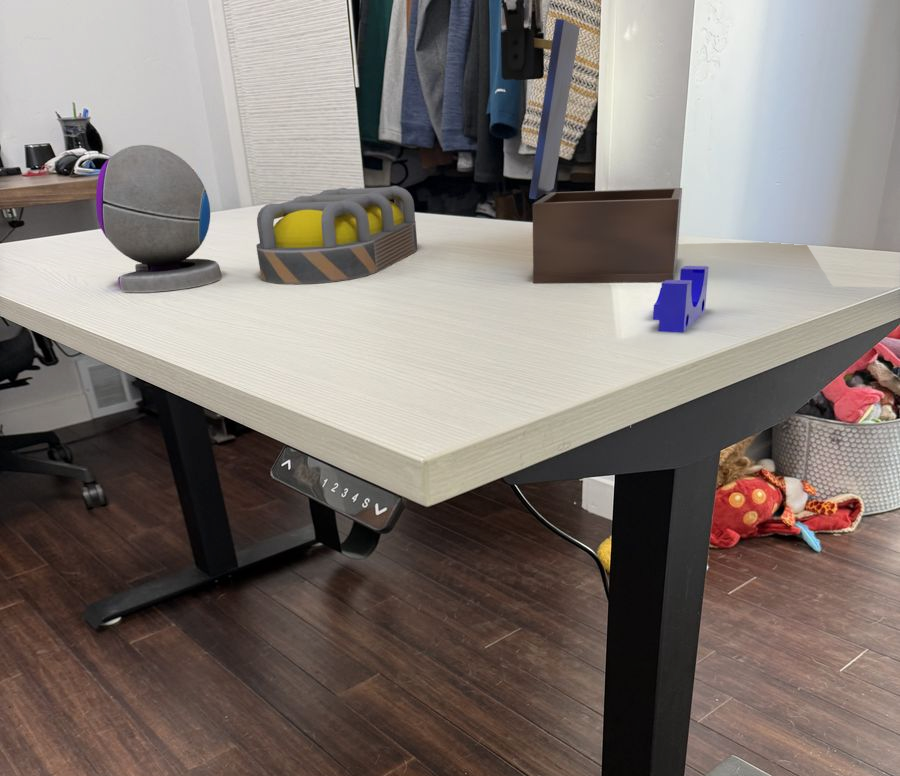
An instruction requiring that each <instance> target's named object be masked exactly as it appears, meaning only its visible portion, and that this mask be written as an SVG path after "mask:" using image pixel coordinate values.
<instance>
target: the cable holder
mask: <svg viewBox="0 0 900 776" xmlns="http://www.w3.org/2000/svg"><path fill="white" fill-rule="evenodd" d="M709 269H710V268H709V266H708V265H684V266H683V267H682V268H681V269H680V274H679V275H680V276H679V279H673V280H665V281H664V282H661V287H660V289H659V293H658V297H657V299H656V301H655V303H653V310H652V311H653V313H652V320H653V321H658V332H662V333H663V332H665V333H680V334H681V333H685V332H686V331H687V330H688V329H689V328H690V327H691V326H692V325H693V324H694V323H695V322H696V321H697V320H698V319H699V318H700V317H701V316H702V315H703V314H704V313H705V312H706V302H707V291H708V282H709V281H708V279H709Z"/></svg>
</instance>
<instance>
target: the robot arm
mask: <svg viewBox="0 0 900 776" xmlns="http://www.w3.org/2000/svg"><path fill="white" fill-rule="evenodd" d="M500 8H501V9H500V10H501V11H500V28H501V29H500V30H501V31H500V61H501V64H500V65H501V66H500V67H501V78H502V79H503V80H504V81H508V80H509V81H511V80H514V81H527V80H540V79H543V78H544V76H545V49H542V48H535V47H534V38H538V39H545V33H544V17H543V16H544V15H543V14H544V13H543V12H544V11H543V0H501V7H500Z"/></svg>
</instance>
